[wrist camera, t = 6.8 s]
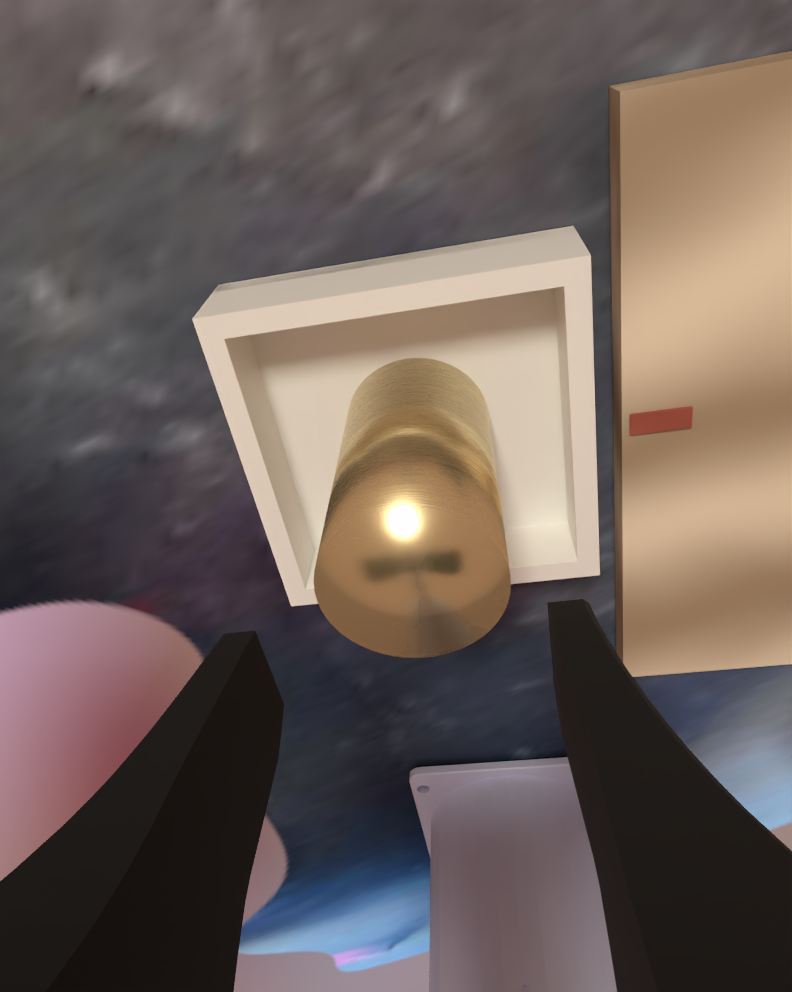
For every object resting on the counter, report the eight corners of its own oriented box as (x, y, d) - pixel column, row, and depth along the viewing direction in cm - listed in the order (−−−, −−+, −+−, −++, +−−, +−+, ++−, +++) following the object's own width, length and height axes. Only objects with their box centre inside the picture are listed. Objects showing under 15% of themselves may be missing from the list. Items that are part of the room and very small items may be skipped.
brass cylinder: (497, 472, 21) (521, 646, 16) (365, 492, 22) (341, 667, 16) (477, 345, 19) (496, 493, 13) (332, 372, 20) (288, 524, 14)
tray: (585, 523, 23) (599, 575, 21) (303, 554, 24) (290, 606, 22) (573, 225, 18) (590, 255, 16) (218, 284, 19) (192, 318, 17)
